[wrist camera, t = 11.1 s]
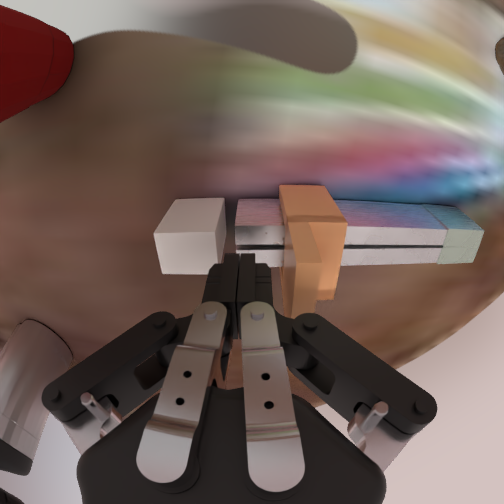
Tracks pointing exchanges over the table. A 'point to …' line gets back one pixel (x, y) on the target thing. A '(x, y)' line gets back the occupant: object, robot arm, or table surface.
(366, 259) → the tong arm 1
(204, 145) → the table surface
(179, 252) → the block
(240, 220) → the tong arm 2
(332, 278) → the collar
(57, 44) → the plastic cup
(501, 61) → the brown carved statuette
